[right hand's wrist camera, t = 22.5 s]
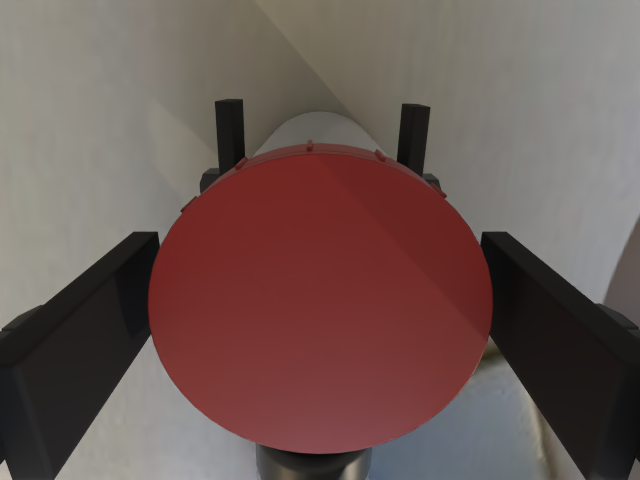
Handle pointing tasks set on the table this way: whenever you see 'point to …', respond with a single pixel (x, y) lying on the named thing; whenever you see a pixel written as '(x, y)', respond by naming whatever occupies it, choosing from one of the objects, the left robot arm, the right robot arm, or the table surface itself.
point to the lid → (320, 299)
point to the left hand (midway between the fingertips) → (322, 103)
